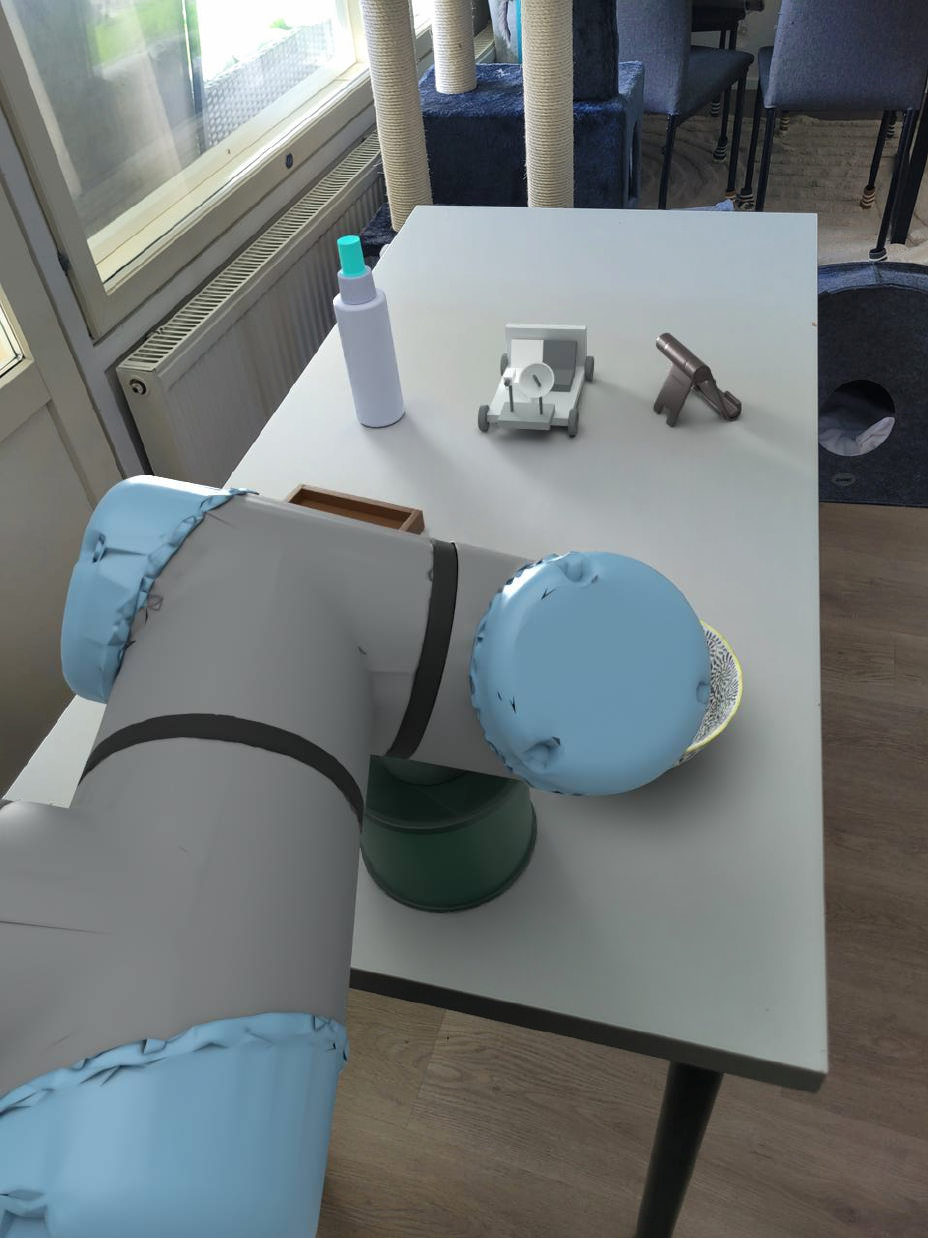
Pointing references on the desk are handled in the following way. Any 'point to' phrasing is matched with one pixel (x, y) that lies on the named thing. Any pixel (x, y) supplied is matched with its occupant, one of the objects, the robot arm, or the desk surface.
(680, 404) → the tablet stand
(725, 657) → the bowl
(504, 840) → the bucket
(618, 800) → the desk surface
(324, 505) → the tray
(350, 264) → the spray bottle
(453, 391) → the desk surface
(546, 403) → the toy car
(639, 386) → the desk surface
